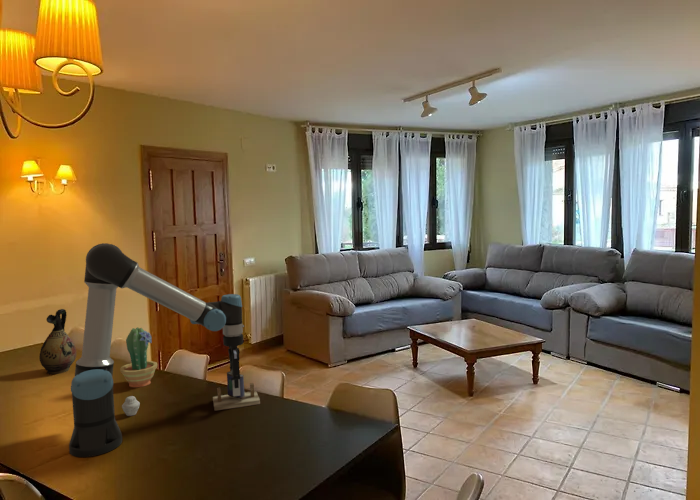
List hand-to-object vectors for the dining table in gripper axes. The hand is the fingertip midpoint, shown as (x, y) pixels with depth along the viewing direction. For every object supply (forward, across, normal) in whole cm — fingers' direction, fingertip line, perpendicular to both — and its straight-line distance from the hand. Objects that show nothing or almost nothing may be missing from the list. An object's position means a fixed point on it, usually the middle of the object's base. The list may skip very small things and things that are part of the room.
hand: (235, 391), depth 192 cm
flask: (+2, 0, 0) cm, 2 cm away
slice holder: (+4, 0, 0) cm, 4 cm away
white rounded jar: (+4, +3, +38) cm, 38 cm away
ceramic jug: (+5, +76, +77) cm, 108 cm away
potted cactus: (+4, +39, +38) cm, 55 cm away
